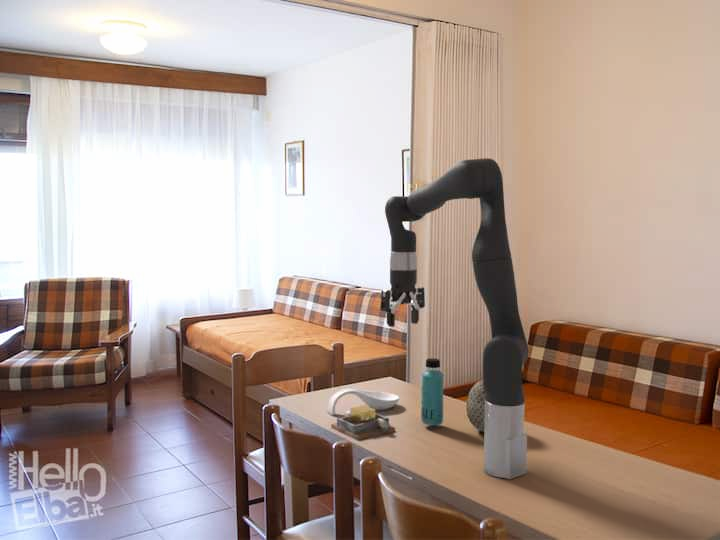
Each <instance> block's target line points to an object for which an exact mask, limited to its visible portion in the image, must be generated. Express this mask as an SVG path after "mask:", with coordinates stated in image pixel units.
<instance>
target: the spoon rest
mask: <svg viewBox="0 0 720 540" xmlns="http://www.w3.org/2000/svg"><path fill="white" fill-rule="evenodd" d="M346 395H353V396H354V395H355V396H356V397H357V398H359V399H360V400H361V401H362V402H363V403H364V405H366V406H368V407H371V408H373V409H375V411H386V410H388V409H390V408H392V407H394V406H395V405H397V404H398V402H399V401H400V397H399V396H398V395H396V394H394V393H391V392H386V391H384V392H383V391H375V390H374V391H372V390H371V391H368V390H361V389H357V388H352V387H351V388H344V389H340V390H338V391H337V392H335V393H334V394H333V395H332V396H331V397H330V398H329V401H328V402H327V406H326V413H328V414H330V415H331V416H335V414H336V413H335V412H336V411H335V410H336V406H337V403H338V401H339V400H340V399H341V398H342V397H343V396H346Z"/></svg>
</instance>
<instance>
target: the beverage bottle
mask: <svg viewBox="0 0 720 540" xmlns="http://www.w3.org/2000/svg"><path fill="white" fill-rule="evenodd" d="M440 361H441V359H439V358H433V357H432V358H431V357H430V358H426V360H425V368H429V369H425V370H424V371H423V372H422V374H421V377H422V379H421V401H420V402H421V407H420V408H421V410H420V411H421V412H420V414H421V416H420V417H421V422H422V424H424V425H428V426H439V425H442V424H443V423H444V375H445V374H444V373H443V372H442V371H440V369H437V368H440V367H441V362H440Z"/></svg>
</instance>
